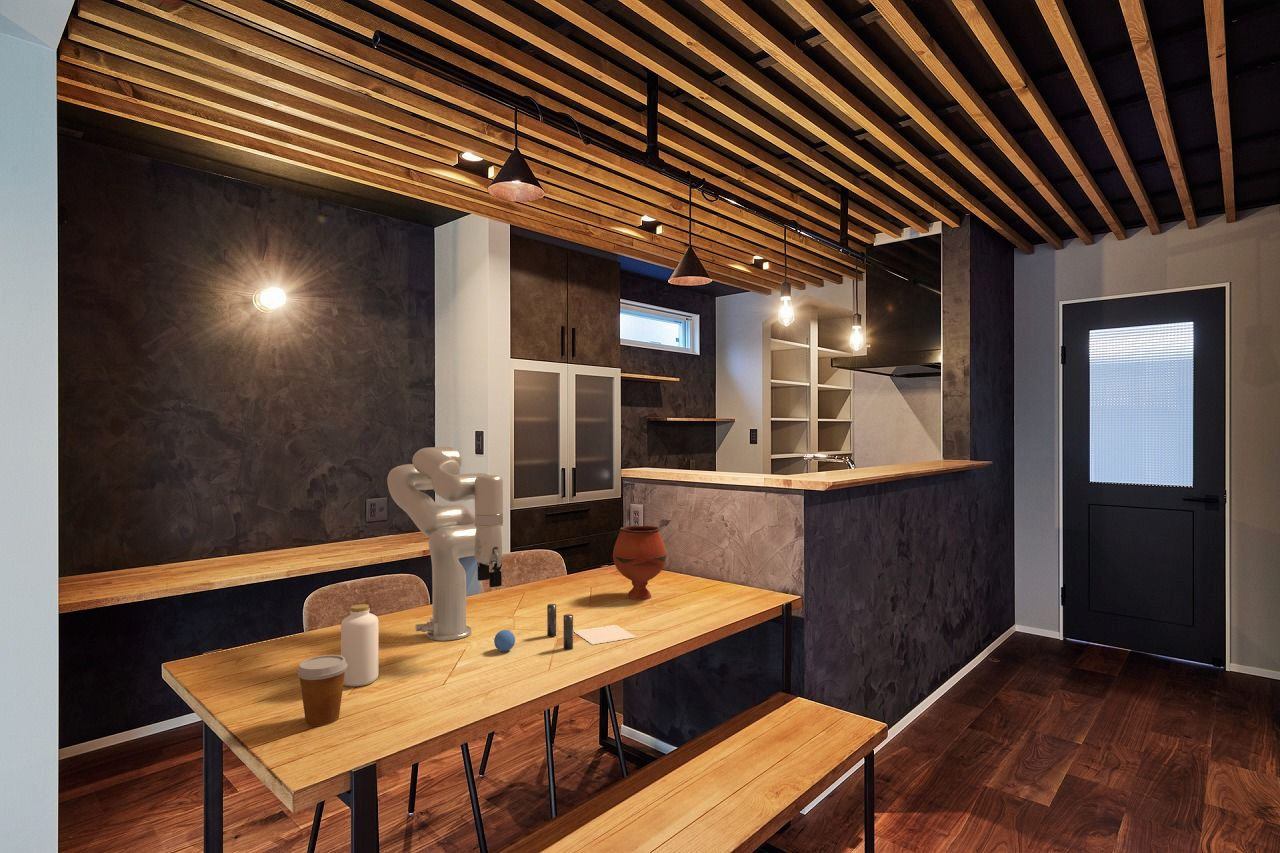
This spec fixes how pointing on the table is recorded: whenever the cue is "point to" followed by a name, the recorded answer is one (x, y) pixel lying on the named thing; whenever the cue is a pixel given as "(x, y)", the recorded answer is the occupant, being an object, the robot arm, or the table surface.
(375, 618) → the potion bottle
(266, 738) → the table surface
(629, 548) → the goblet
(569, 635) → the post
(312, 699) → the disposable coffee cup
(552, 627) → the post
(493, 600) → the table surface
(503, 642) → the ball
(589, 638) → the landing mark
